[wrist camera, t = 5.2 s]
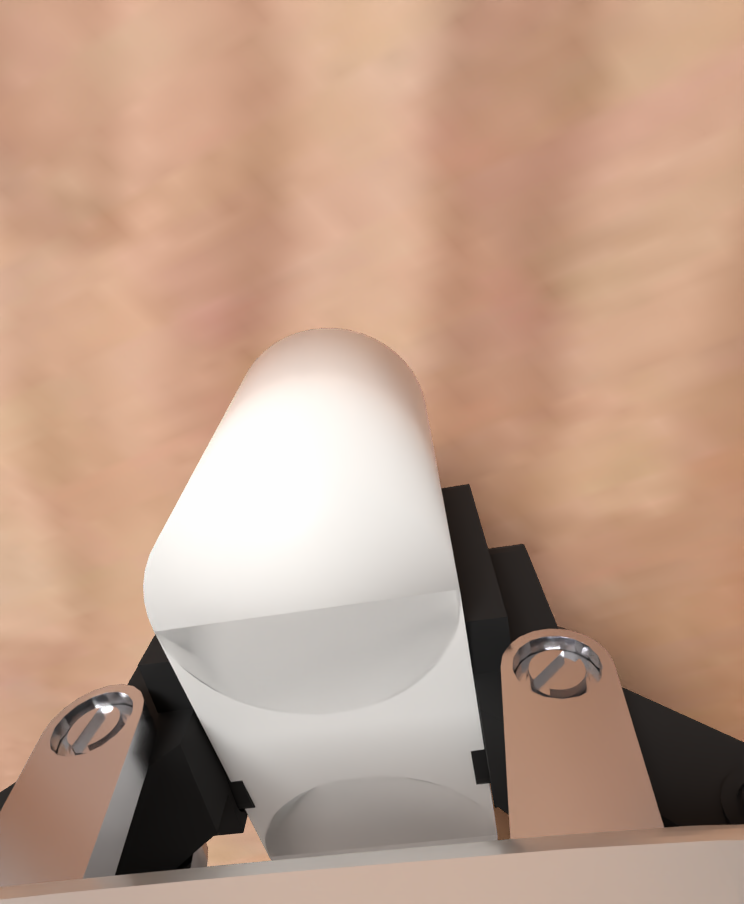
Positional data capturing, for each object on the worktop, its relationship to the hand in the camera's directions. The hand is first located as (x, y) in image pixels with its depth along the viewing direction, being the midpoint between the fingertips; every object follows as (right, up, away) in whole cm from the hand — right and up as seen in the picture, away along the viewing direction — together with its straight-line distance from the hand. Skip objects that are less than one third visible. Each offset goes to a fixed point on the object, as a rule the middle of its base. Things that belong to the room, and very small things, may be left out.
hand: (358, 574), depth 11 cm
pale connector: (0, +1, +1) cm, 1 cm away
